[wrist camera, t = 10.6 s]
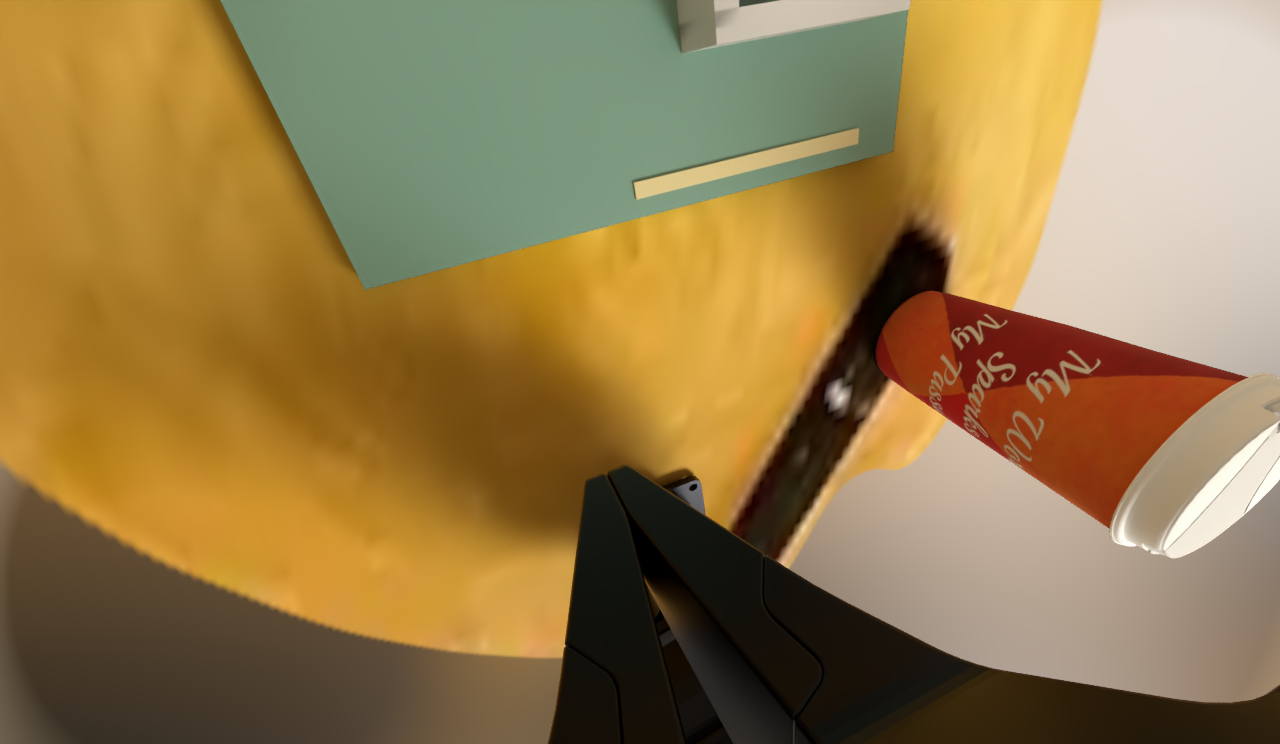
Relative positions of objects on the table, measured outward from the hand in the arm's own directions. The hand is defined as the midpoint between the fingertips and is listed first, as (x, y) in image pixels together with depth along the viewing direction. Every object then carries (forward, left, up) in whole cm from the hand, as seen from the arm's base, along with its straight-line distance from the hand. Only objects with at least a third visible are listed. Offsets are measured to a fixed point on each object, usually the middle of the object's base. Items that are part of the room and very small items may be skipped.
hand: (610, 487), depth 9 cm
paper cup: (-9, -21, -12) cm, 26 cm away
